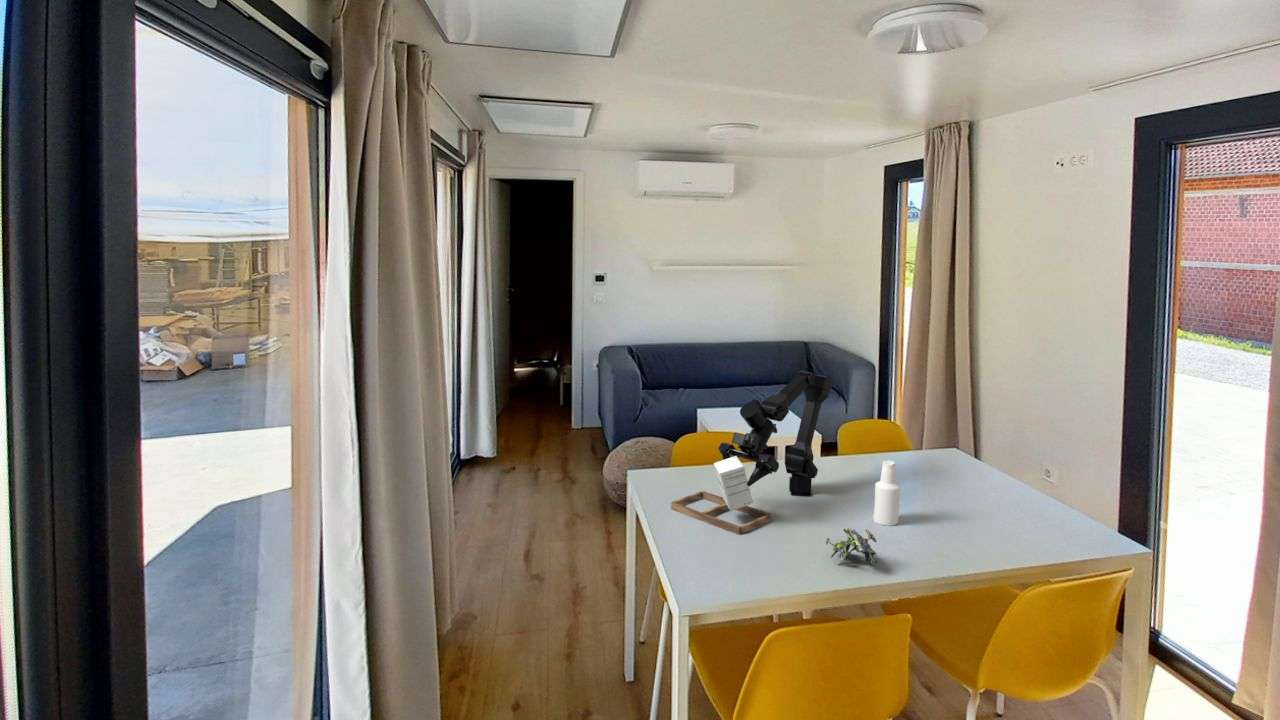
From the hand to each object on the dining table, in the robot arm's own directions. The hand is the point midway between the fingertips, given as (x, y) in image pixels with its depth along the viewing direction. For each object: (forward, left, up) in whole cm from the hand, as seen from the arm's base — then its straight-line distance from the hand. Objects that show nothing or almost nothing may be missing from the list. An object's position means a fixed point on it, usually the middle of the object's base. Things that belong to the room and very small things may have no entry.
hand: (734, 481), depth 197 cm
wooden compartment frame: (+4, -5, -12) cm, 14 cm away
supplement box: (-1, -1, -7) cm, 7 cm away
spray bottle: (-44, -8, -12) cm, 46 cm away
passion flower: (-31, +22, -13) cm, 40 cm away
